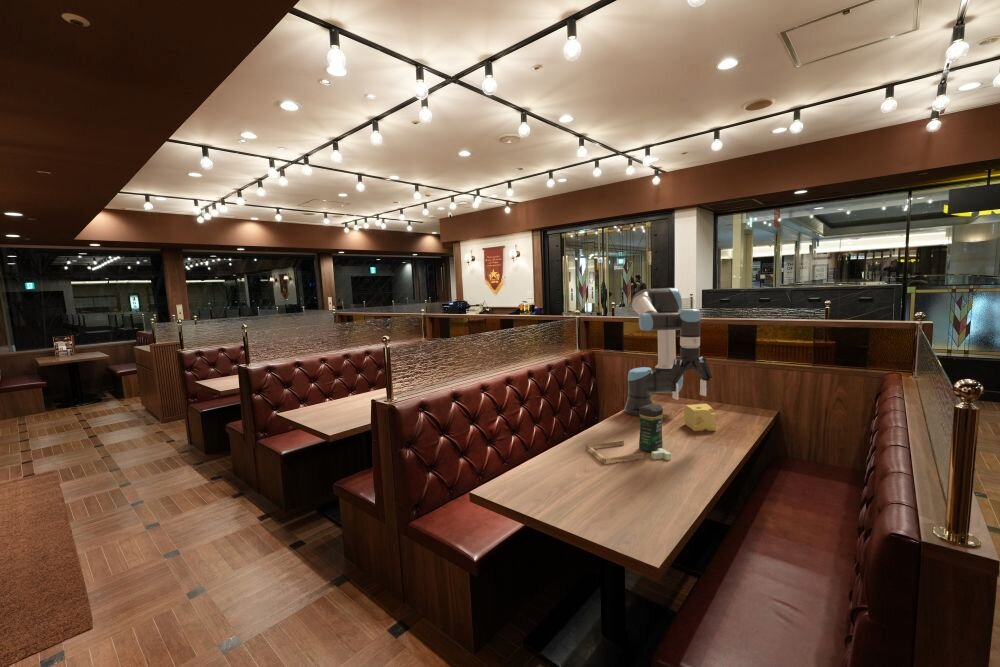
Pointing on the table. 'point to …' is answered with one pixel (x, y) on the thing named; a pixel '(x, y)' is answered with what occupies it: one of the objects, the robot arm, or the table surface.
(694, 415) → the cheese
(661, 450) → the sage T block
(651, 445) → the coffee jar
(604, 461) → the oak frame
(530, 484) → the table surface
